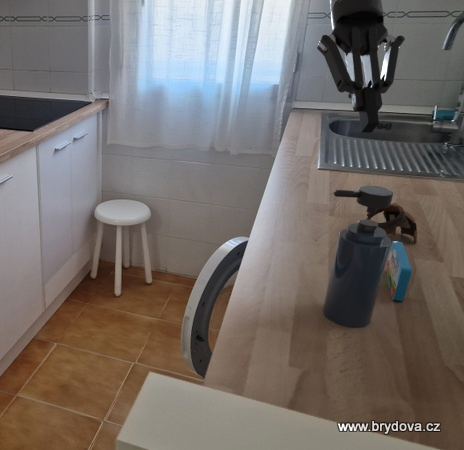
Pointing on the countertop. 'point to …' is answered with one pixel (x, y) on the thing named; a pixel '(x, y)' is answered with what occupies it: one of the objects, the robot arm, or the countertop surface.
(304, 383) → the countertop surface
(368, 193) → the pump head
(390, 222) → the brown arched figure
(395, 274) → the flat blue box
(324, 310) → the dispenser
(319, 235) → the countertop surface
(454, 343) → the countertop surface
